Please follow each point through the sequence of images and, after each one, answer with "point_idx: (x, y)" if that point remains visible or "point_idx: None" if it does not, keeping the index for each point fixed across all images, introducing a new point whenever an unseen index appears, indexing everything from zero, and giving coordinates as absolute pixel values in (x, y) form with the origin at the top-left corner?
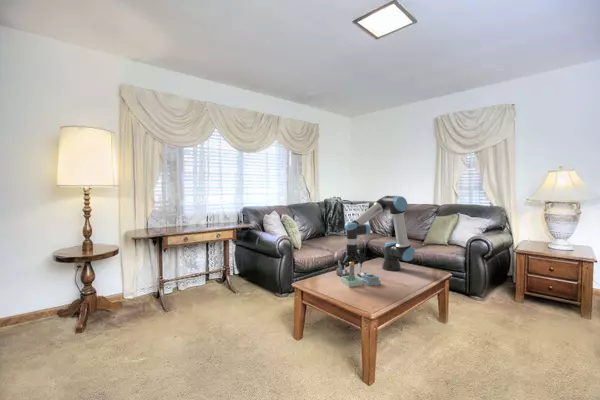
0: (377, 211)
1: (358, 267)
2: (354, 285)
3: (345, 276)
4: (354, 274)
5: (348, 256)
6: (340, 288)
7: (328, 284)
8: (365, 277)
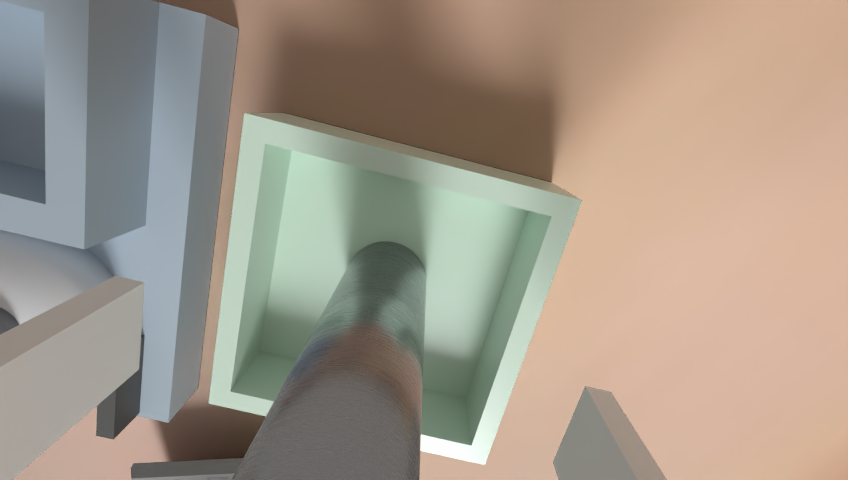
0: None
1: (35, 439)
2: (445, 156)
3: None
4: (144, 473)
5: None
6: (704, 209)
7: (696, 427)
8: (112, 161)
